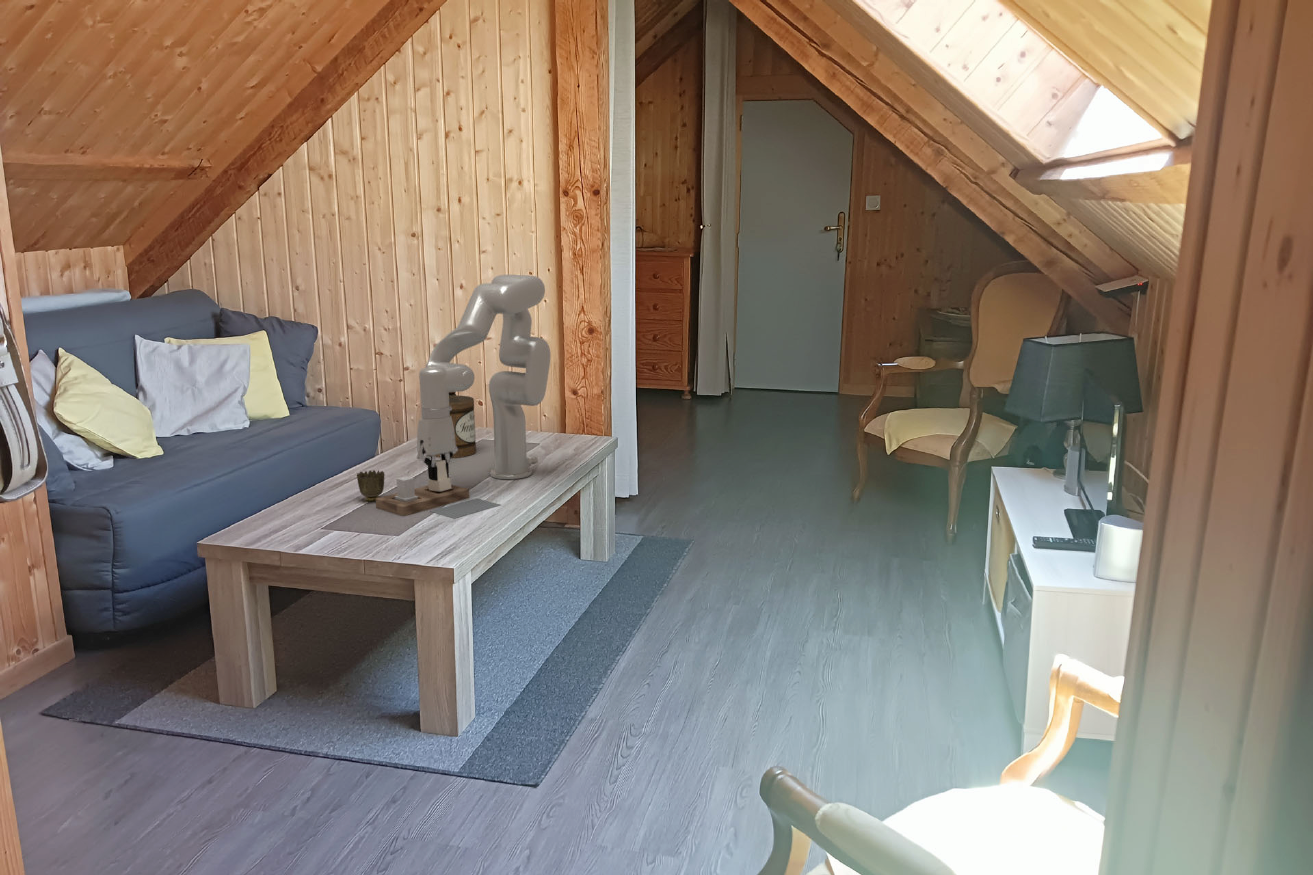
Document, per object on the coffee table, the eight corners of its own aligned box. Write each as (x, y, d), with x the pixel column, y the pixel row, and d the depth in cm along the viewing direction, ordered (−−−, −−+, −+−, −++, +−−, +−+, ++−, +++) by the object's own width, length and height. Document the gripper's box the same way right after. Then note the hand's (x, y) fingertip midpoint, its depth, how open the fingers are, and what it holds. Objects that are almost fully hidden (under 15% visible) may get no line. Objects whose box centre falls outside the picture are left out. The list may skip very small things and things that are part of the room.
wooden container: (471, 458, 322) (468, 391, 317) (425, 458, 323) (422, 391, 318) (480, 447, 337) (477, 383, 332) (436, 447, 337) (433, 383, 332)
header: (441, 492, 283) (441, 482, 282) (469, 499, 275) (468, 489, 275) (376, 509, 266) (375, 498, 266) (403, 517, 259) (403, 506, 258)
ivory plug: (440, 487, 277) (437, 459, 276) (451, 488, 274) (448, 460, 273) (429, 490, 274) (425, 461, 273) (439, 491, 271) (436, 462, 270)
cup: (385, 504, 271) (383, 475, 269) (357, 505, 270) (355, 477, 268) (387, 496, 278) (385, 469, 276) (359, 498, 277) (357, 470, 275)
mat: (476, 500, 275) (476, 498, 275) (501, 506, 269) (501, 504, 268) (430, 513, 263) (430, 511, 263) (454, 520, 257) (454, 518, 256)
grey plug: (407, 503, 269) (405, 475, 268) (418, 507, 266) (416, 478, 265) (395, 507, 266) (393, 478, 265) (406, 510, 263) (404, 481, 262)
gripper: (450, 406, 278) (453, 470, 282) (402, 415, 266) (405, 482, 270) (468, 410, 273) (470, 474, 277) (419, 419, 261) (423, 486, 265)
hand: (438, 477), depth 274 cm, fingers closed on ivory plug, 3 cm apart
